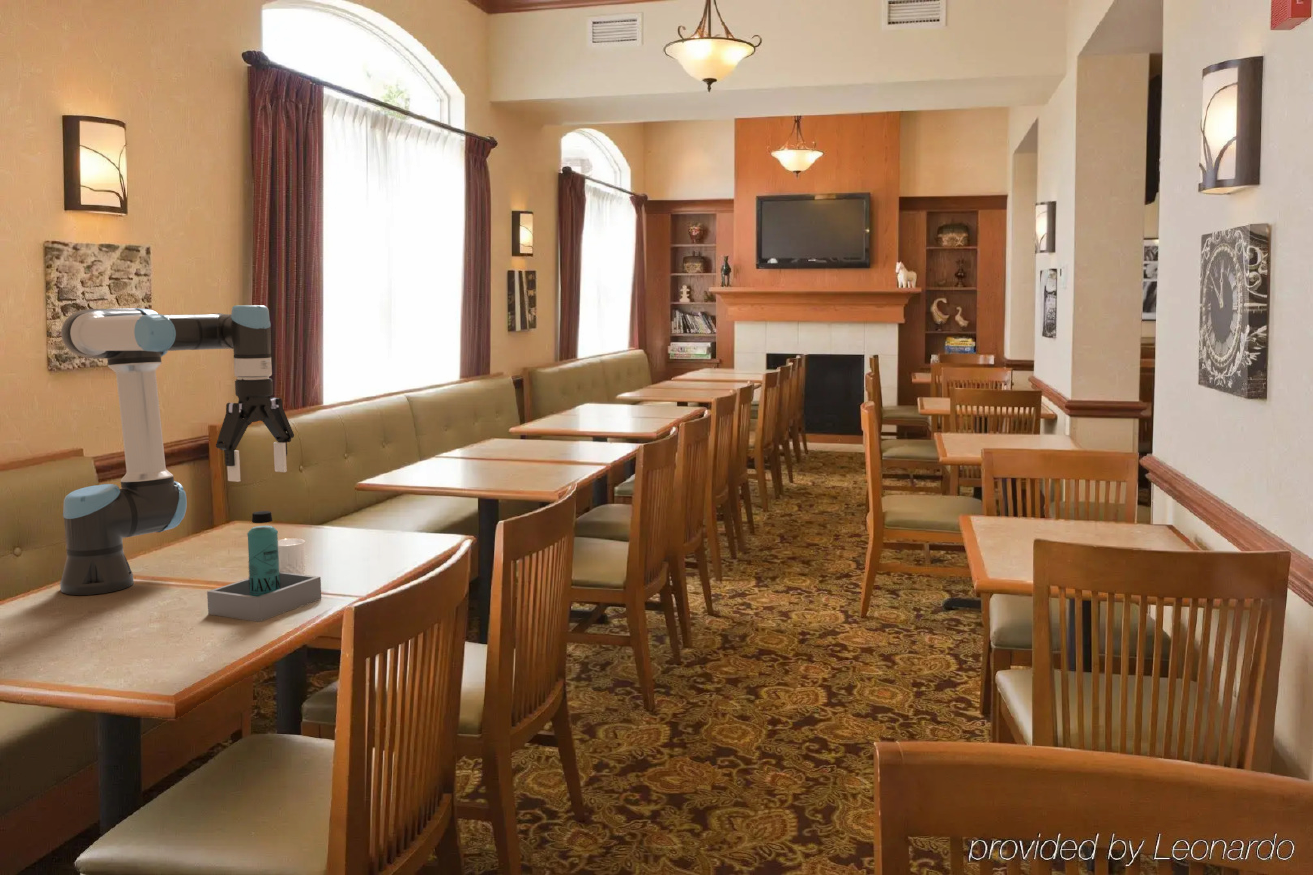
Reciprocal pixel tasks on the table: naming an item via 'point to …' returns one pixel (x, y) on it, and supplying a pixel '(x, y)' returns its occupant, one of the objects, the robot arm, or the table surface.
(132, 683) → the table surface
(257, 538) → the beverage bottle
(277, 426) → the robot arm
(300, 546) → the white cup
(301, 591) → the trough tray
